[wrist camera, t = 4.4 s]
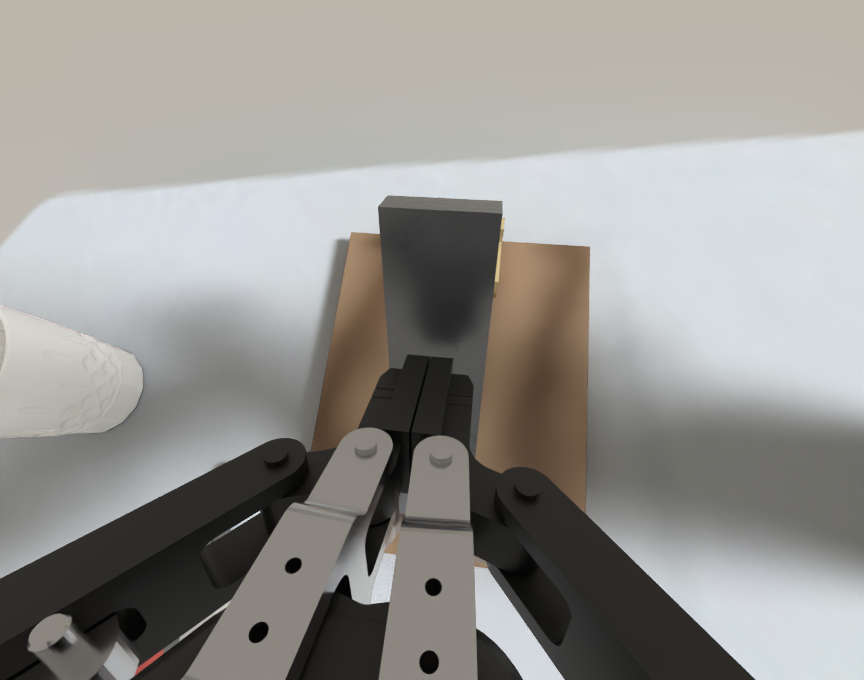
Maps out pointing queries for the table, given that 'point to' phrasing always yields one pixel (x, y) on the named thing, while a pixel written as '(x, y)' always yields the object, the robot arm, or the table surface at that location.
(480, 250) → the strap
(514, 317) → the latch board
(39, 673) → the robot arm
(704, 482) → the table surface
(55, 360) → the white cup
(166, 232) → the table surface
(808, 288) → the table surface
